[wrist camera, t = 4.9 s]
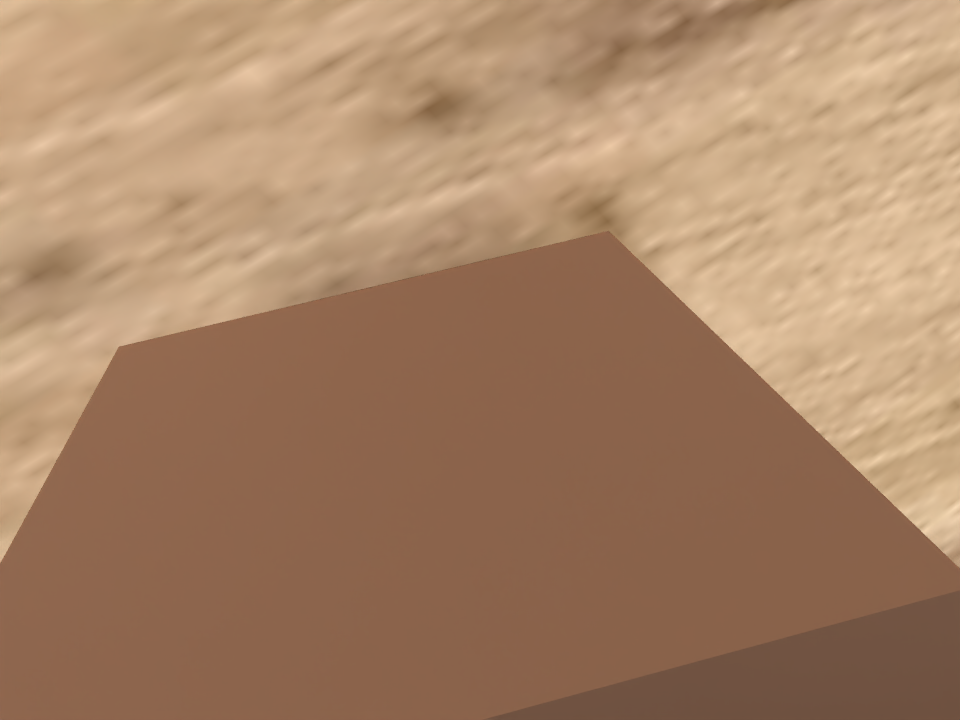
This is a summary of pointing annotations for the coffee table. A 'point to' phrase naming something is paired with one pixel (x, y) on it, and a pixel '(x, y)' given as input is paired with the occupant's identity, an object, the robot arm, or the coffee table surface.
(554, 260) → the terracotta block
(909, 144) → the coffee table surface
